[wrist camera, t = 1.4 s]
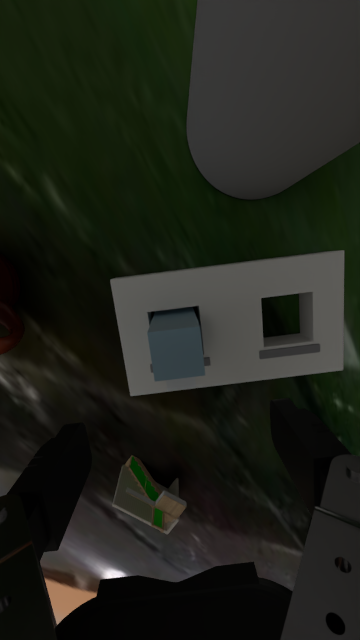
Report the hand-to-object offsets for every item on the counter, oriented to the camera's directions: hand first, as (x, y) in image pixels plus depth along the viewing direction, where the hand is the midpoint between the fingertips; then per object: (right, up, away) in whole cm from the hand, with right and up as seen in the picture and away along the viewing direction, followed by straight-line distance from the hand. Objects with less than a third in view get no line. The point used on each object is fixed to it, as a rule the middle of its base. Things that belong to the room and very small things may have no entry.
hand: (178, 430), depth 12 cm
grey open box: (-4, -14, +23) cm, 27 cm away
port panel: (+5, +5, +18) cm, 19 cm away
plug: (0, +4, +18) cm, 19 cm away
